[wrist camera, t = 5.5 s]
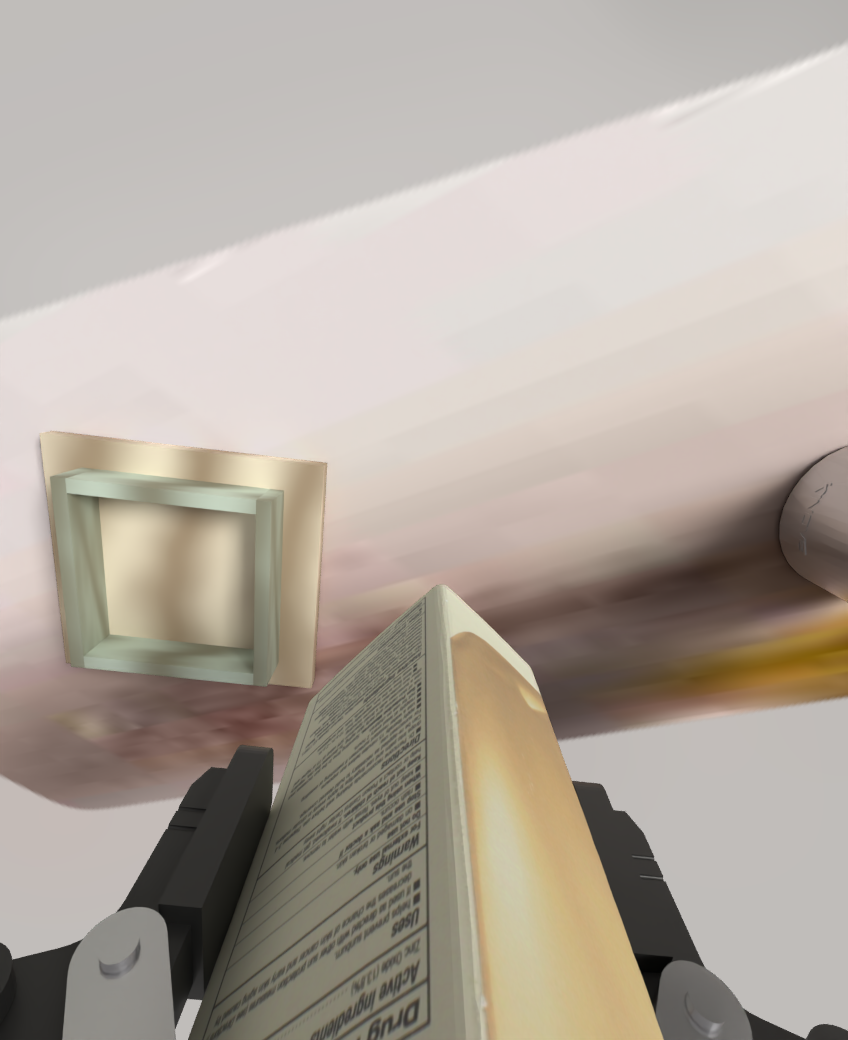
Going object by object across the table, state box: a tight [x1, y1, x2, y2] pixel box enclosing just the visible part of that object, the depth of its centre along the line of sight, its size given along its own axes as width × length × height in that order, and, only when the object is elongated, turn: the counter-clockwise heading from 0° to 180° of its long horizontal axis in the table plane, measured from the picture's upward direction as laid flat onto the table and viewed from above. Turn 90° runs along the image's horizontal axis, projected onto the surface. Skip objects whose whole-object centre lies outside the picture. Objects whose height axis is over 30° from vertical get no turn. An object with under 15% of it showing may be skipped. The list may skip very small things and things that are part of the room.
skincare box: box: [188, 584, 664, 1040], centre depth 10 cm, size 6×4×12 cm
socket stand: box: [40, 431, 327, 688], centre depth 29 cm, size 16×15×4 cm
